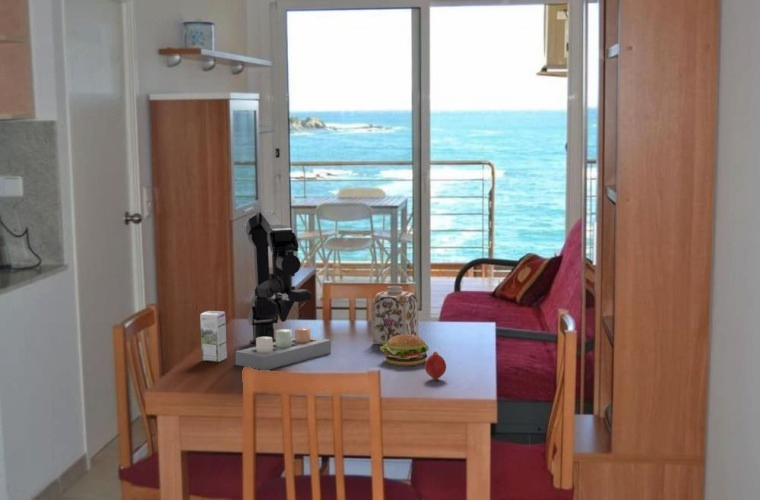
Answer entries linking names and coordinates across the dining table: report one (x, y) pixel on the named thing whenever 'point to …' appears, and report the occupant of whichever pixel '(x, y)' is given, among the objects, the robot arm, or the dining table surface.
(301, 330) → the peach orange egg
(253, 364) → the grey holder tray
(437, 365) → the onion
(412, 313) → the decorative jar
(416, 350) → the food
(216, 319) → the syrup box
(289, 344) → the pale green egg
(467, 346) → the dining table surface
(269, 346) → the cream rounded tapered piece
